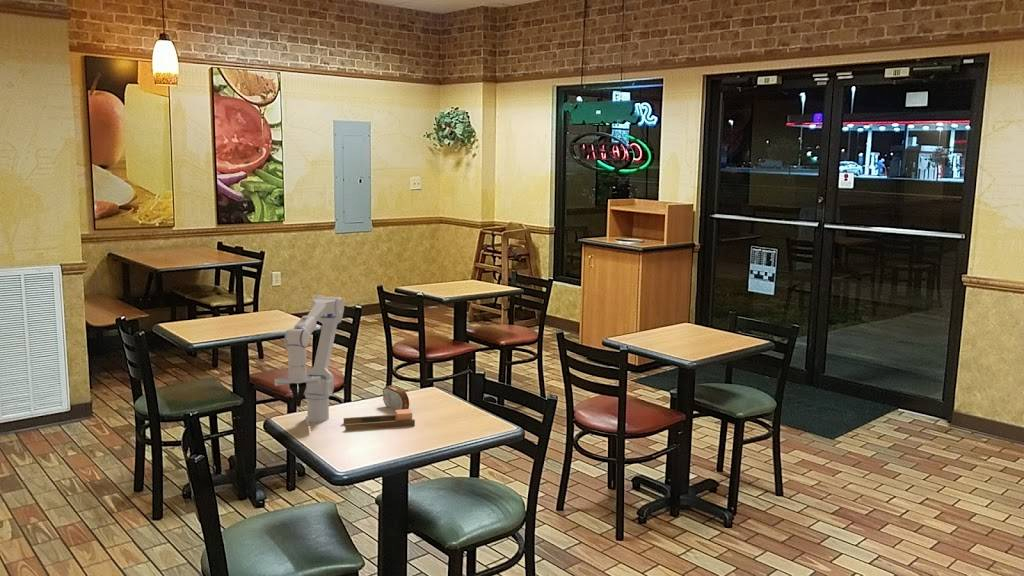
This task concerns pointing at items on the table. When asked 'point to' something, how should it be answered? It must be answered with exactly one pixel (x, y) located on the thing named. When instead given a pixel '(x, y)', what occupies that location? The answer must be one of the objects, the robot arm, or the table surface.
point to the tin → (395, 398)
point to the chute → (375, 422)
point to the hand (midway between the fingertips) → (298, 405)
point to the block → (403, 414)
